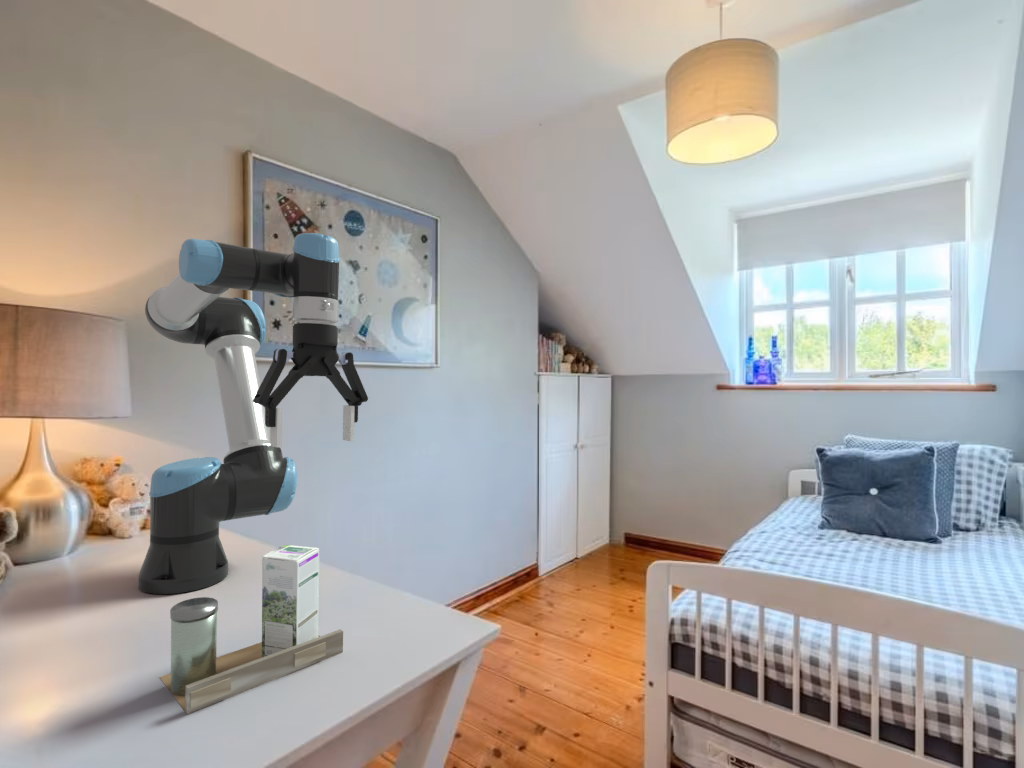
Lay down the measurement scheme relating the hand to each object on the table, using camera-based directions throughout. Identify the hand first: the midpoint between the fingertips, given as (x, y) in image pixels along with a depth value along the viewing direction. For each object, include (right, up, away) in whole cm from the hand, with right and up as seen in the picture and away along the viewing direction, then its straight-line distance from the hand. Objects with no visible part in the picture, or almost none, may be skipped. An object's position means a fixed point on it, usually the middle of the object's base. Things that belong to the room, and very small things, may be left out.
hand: (313, 443), depth 96 cm
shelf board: (0, -29, -22) cm, 36 cm away
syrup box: (+3, -28, -18) cm, 34 cm away
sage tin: (-5, -28, -27) cm, 39 cm away
